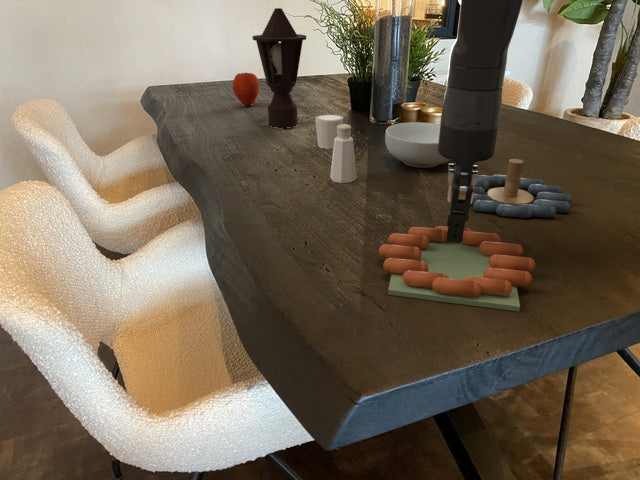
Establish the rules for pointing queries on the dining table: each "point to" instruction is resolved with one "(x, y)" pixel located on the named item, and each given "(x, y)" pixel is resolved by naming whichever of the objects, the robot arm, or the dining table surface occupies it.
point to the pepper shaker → (343, 156)
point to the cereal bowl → (415, 144)
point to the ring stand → (512, 187)
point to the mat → (454, 276)
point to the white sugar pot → (327, 129)
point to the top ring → (495, 279)
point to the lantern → (280, 67)
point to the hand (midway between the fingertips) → (454, 233)
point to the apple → (246, 87)
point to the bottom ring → (544, 206)
